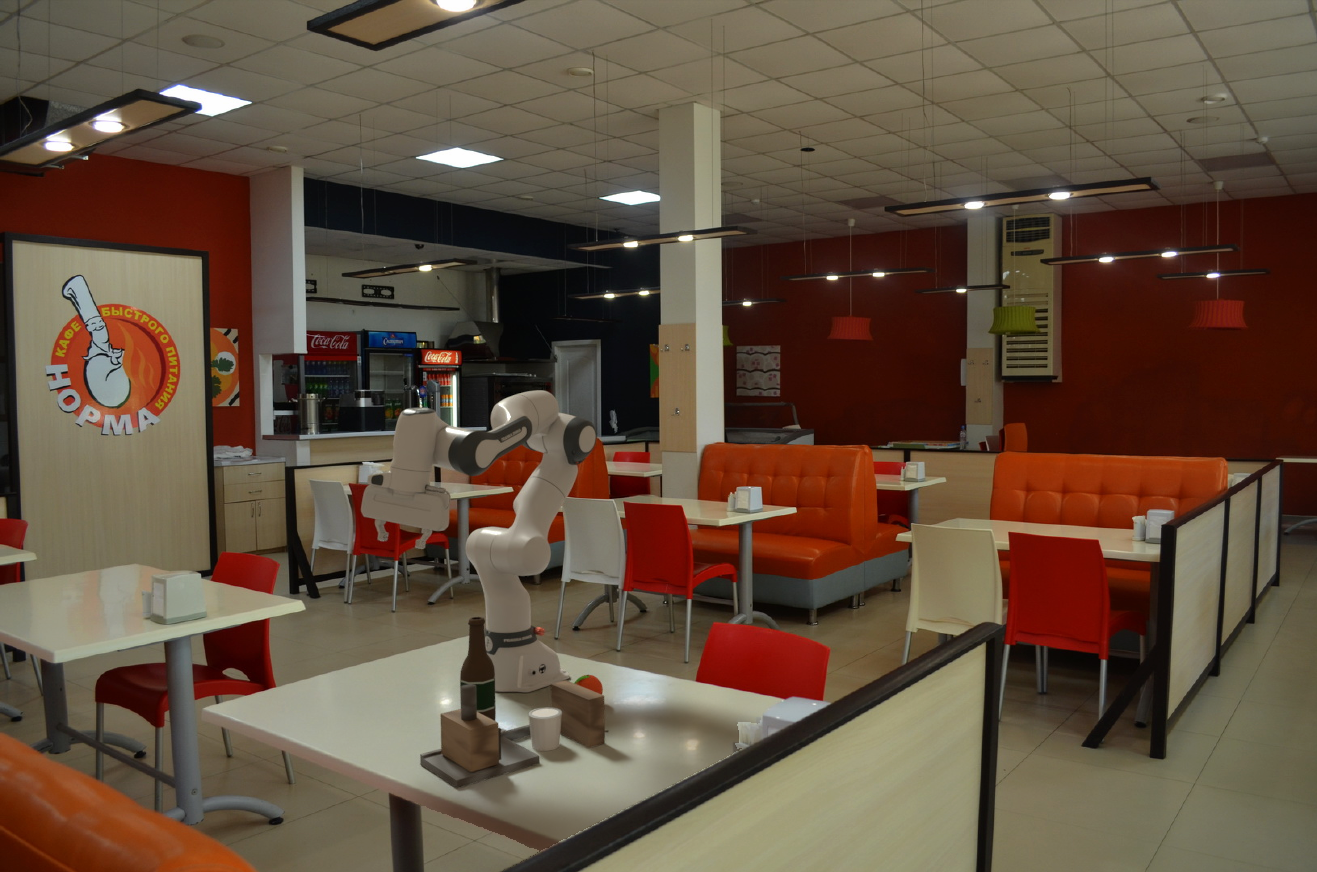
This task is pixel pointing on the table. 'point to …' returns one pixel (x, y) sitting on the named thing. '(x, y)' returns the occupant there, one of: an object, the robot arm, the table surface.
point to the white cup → (545, 728)
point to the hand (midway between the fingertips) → (401, 544)
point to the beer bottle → (479, 669)
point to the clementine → (590, 683)
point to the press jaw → (470, 734)
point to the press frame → (577, 723)
